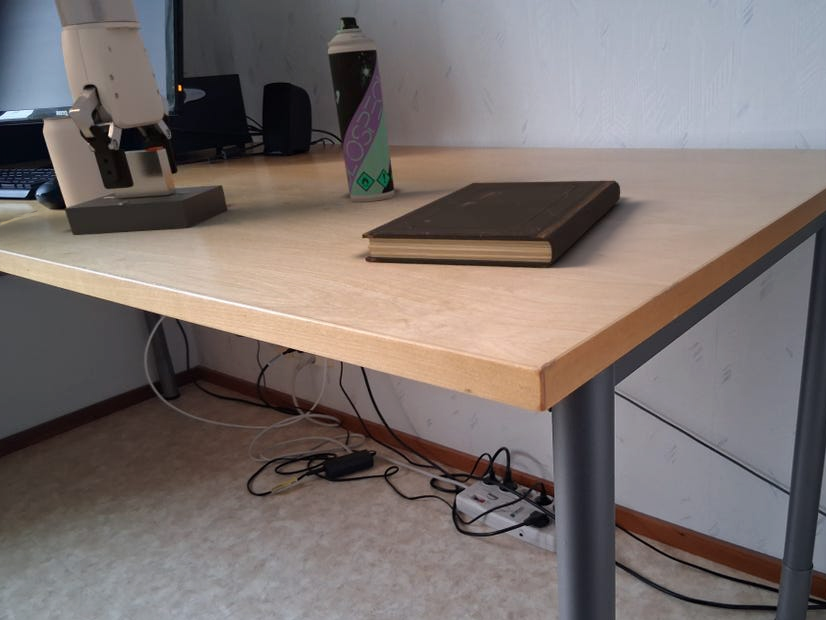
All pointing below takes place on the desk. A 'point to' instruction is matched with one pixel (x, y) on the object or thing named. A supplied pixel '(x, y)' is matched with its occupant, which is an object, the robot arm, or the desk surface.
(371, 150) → the spray can
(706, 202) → the desk surface
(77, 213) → the dark grey base plate
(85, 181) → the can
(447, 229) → the hardcover book
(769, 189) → the desk surface
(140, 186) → the white rectangular block
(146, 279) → the desk surface
